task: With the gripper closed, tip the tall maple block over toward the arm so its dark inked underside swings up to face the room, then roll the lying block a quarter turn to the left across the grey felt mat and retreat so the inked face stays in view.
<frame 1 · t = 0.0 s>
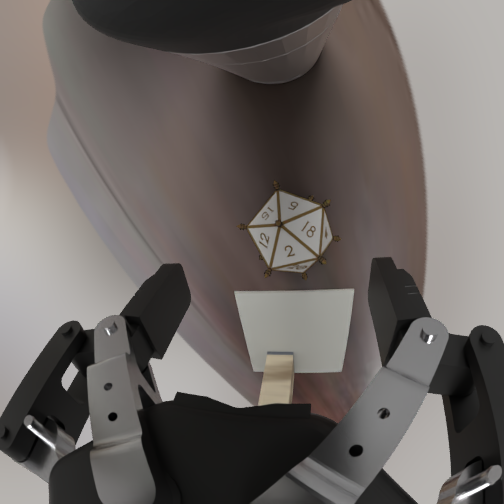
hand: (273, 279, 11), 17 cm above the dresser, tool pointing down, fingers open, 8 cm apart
game die: (292, 214, 28), on the dresser
maple block: (281, 362, 41), resting on felt mat
felt mat: (296, 337, 37), on the dresser
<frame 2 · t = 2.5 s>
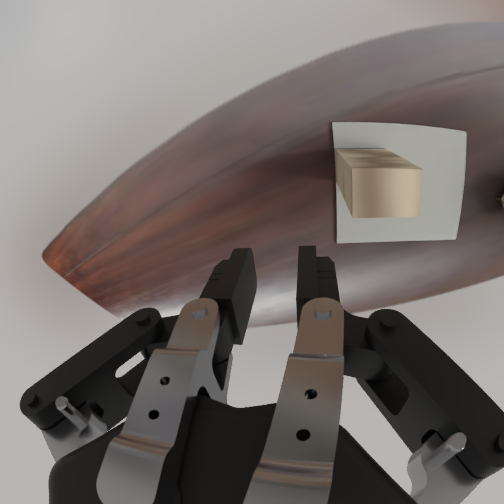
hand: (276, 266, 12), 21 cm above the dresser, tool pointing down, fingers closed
maple block: (360, 164, 28), resting on felt mat
felt mat: (406, 185, 28), on the dresser
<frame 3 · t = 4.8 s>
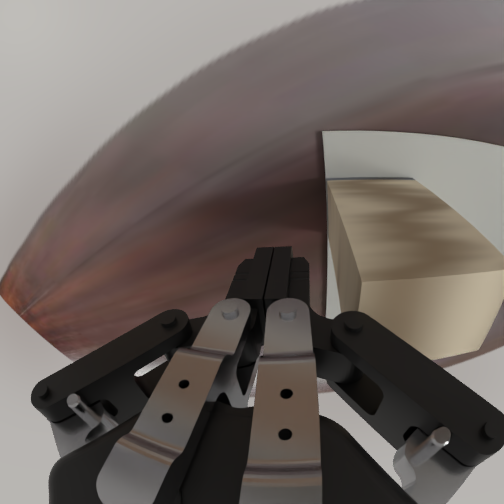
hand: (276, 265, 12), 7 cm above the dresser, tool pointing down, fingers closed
maple block: (370, 206, 17), resting on felt mat, touching gripper
felt mat: (439, 235, 17), on the dresser
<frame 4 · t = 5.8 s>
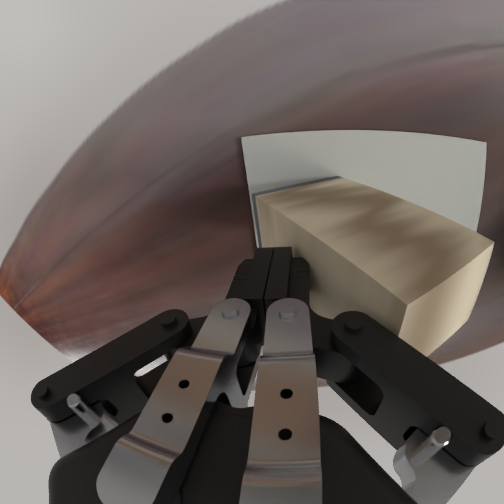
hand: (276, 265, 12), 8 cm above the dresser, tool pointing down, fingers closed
maple block: (300, 214, 17), point 2 cm above the dresser, tilted 31°, touching felt mat, gripper
felt mat: (378, 235, 18), on the dresser
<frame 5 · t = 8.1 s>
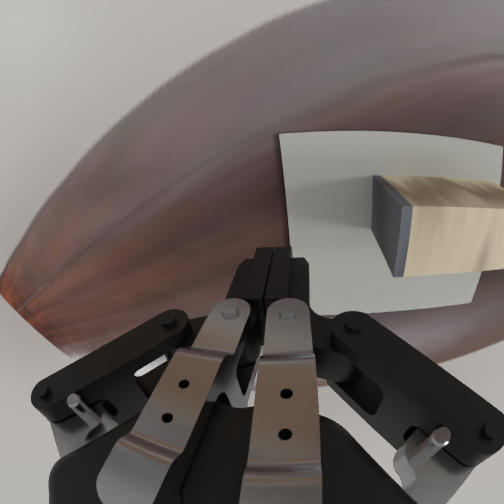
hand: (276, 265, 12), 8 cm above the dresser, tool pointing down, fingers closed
maple block: (383, 220, 15), point 3 cm above the dresser, tilted 90°, touching felt mat
felt mat: (406, 233, 18), on the dresser
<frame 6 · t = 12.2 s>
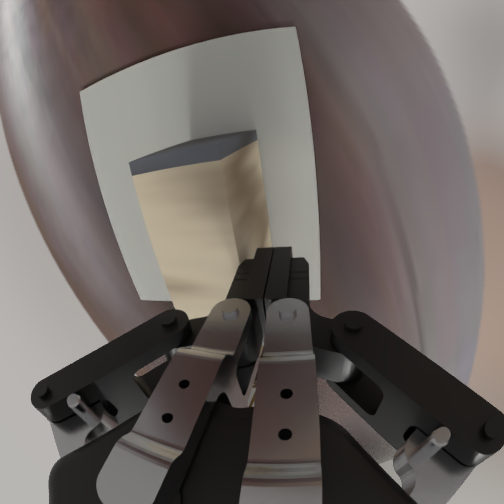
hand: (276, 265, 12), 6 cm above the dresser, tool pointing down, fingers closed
maple block: (200, 141, 12), point 3 cm above the dresser, tilted 90°, touching felt mat, gripper
felt mat: (194, 186, 17), on the dresser
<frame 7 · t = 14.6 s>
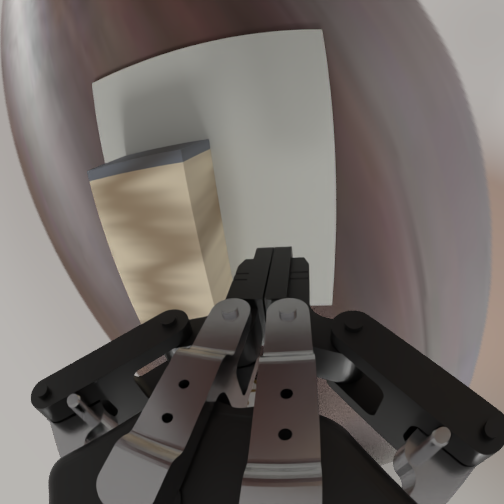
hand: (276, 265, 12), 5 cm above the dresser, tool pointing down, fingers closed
maple block: (147, 152, 13), point 2 cm above the dresser, tilted 90°, touching felt mat
felt mat: (210, 186, 16), on the dresser
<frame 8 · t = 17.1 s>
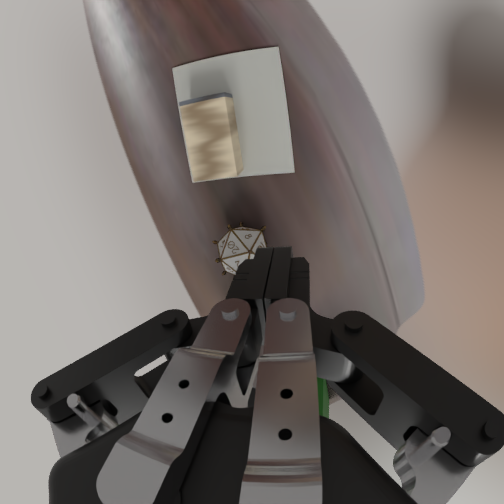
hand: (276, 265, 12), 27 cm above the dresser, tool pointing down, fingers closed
game die: (248, 238, 43), on the dresser
maple block: (206, 97, 30), point 2 cm above the dresser, tilted 90°, touching felt mat
felt mat: (232, 114, 33), on the dresser
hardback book: (311, 384, 60), on the dresser
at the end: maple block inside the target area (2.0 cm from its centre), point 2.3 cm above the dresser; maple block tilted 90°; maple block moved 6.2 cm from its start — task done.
